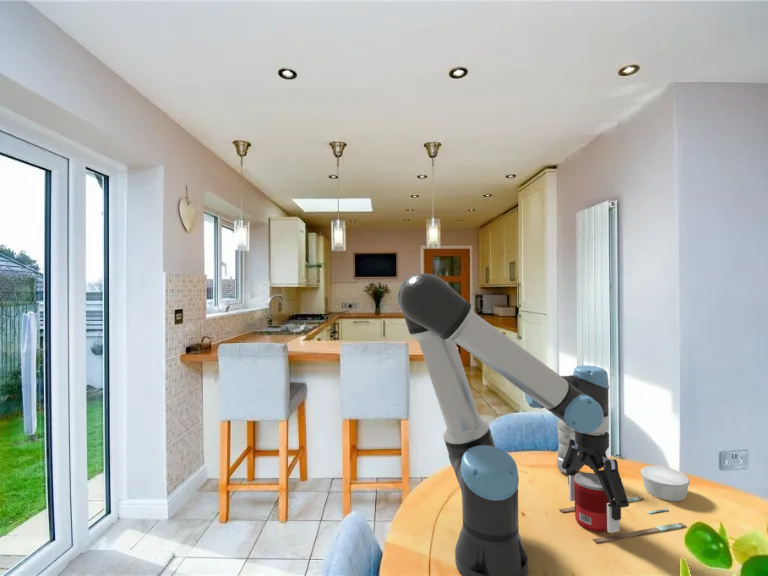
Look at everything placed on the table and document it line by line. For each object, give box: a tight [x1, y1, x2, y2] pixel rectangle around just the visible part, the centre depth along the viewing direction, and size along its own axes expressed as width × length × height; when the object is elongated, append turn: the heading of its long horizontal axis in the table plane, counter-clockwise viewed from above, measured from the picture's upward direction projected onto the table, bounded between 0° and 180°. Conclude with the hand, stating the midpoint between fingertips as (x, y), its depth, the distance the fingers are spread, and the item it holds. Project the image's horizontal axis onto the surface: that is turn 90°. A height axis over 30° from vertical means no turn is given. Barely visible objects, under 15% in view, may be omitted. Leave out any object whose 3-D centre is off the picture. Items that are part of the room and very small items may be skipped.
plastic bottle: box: [556, 418, 578, 475], centre depth 124 cm, size 6×7×20 cm
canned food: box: [574, 471, 609, 533], centre depth 99 cm, size 8×8×11 cm
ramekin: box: [640, 465, 691, 502], centre depth 111 cm, size 11×11×5 cm
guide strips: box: [559, 496, 687, 544], centre depth 101 cm, size 27×14×1 cm, turn 102°
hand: (592, 514), depth 99 cm, fingers open, 13 cm apart
